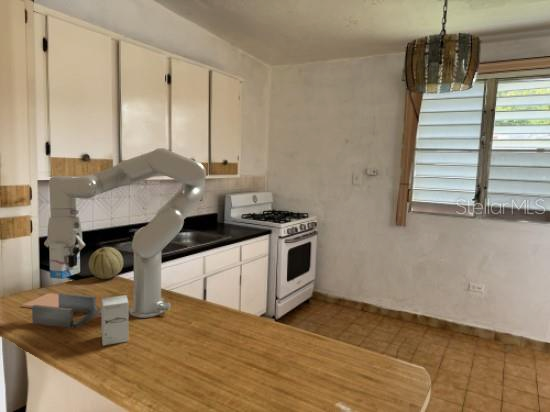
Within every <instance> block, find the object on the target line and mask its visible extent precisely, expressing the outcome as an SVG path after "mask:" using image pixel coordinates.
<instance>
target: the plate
mask: <svg viewBox="0 0 550 412" xmlns="http://www.w3.org/2000/svg"><path fill="white" fill-rule="evenodd" d="M58 294H59V293H51V292H48V293H46V294H44V295H41V296H39V297H37V298H35V299H33V300H30V301H27V302H26V303H23V304H21V308H26V309H32V306H33V305H42V306H51V307H59V296H58Z"/></svg>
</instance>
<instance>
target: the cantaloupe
mask: <svg viewBox="0 0 550 412" xmlns="http://www.w3.org/2000/svg"><path fill="white" fill-rule="evenodd" d="M123 267H124V258H123V255H122V254H121V252H120V251H119V250H118V249H116V248H115V247H111V246H104V247H100V248H98V249H96V250H95V251H94V252H93V253H92V254H91V255H90V257H89V259H88V268H89V271H90V273H91V274H92V275H93V276H94V277H96V278H98V279H101V280H106V279H112V278H113V277H116V276H118V274H119V273H121V272H122V269H123Z"/></svg>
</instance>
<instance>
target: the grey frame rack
mask: <svg viewBox="0 0 550 412" xmlns="http://www.w3.org/2000/svg"><path fill="white" fill-rule="evenodd" d="M57 294H58V296H59V307H51V306H42V305H33V306H32V308H31V310H32V311H31V313H32V315H31V316H32V324H34V325H42V326H43V325H44V326H50V327H51V326H52V327H59V328H68V329H69V328H70V329H78V328H79V327H81V326H82V325H84V324H85V323H87V322H88V321H90V320H91V319H94V318H96V316H99V315H101V308H97V300H96V299H97V297H96V296H93V295H86V294H85V295H83V294H75V293H74V294H73V293H64V292H60V293H57ZM74 313H83V314H86V315H84V316H83V317H81V318H80V319H78V320H76V321H74Z"/></svg>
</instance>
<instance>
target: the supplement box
mask: <svg viewBox="0 0 550 412" xmlns="http://www.w3.org/2000/svg"><path fill="white" fill-rule="evenodd" d="M100 301H101V302H100V306H101V308H100V309H101V313H100V315H101V329H100V330H101V340H102V341H101V343H102V346H103V347H105V346H109V345H113V344H120V343H126V342H129V337H130V336H129V333H130V332H129V330H130V329H129V317H130V316H129V315H130V314H129V309H130V308H129V305H130V304H129V300H128V295H126V294H125V295H118V296H117V295H115V296H107V297H106V296H105V297H101V299H100Z"/></svg>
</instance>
